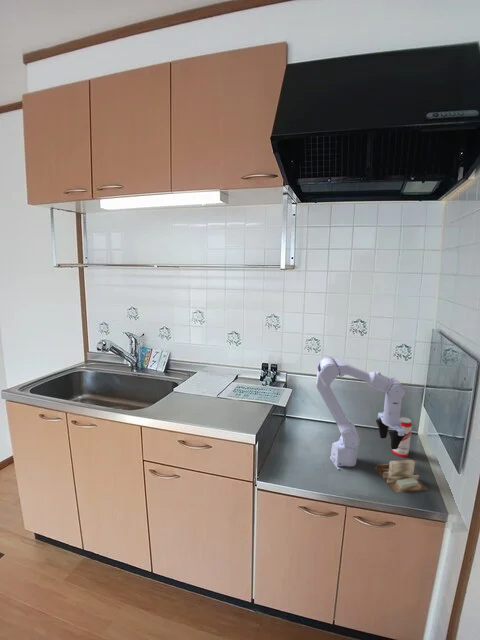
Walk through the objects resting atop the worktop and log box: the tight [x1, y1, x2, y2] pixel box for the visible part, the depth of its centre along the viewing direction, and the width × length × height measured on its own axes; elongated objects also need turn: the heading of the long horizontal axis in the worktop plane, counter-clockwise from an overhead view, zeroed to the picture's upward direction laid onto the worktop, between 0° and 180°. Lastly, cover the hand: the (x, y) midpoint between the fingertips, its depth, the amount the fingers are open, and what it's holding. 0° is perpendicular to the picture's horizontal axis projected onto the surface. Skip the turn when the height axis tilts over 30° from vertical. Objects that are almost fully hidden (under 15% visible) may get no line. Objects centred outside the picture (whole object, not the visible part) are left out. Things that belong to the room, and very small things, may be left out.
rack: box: [373, 463, 429, 493], centre depth 123 cm, size 13×14×3 cm
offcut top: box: [396, 477, 418, 488], centre depth 118 cm, size 7×3×1 cm, turn 106°
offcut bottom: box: [395, 482, 421, 491], centre depth 118 cm, size 8×3×1 cm, turn 98°
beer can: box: [391, 416, 413, 458], centre depth 138 cm, size 6×6×16 cm
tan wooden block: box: [388, 459, 416, 477], centre depth 122 cm, size 9×2×7 cm, turn 98°
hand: (388, 443), depth 129 cm, fingers open, 7 cm apart
